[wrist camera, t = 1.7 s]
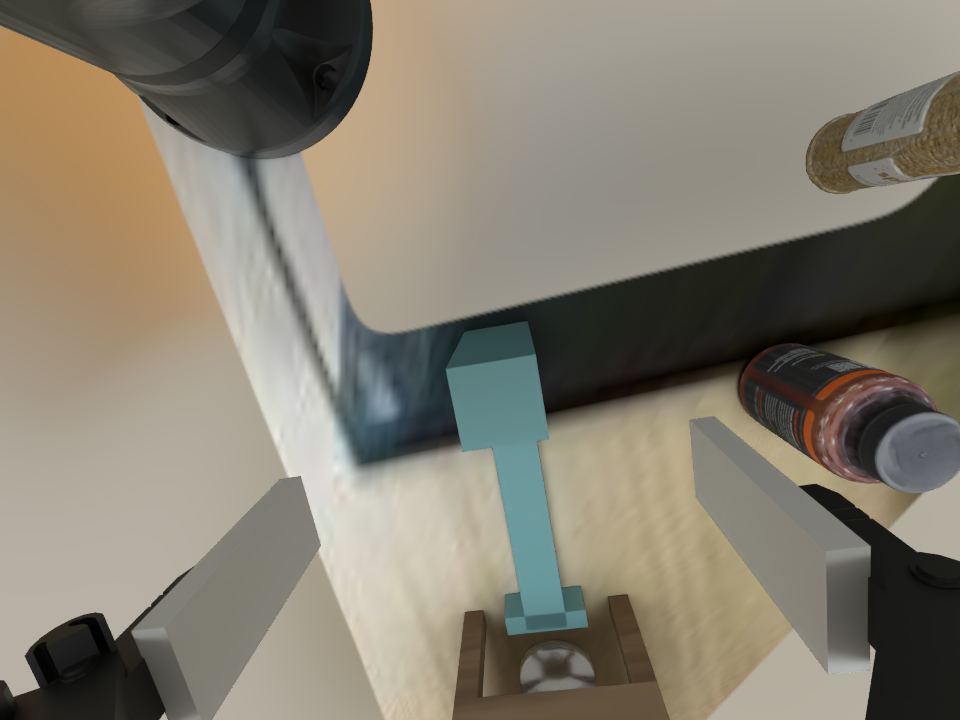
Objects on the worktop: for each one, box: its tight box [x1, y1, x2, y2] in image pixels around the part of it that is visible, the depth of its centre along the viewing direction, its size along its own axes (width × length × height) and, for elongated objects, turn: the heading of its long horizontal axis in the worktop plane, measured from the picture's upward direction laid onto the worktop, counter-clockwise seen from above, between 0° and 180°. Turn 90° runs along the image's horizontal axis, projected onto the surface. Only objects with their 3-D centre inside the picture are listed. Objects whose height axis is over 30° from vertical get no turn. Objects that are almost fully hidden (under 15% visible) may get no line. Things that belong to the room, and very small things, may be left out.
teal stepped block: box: [446, 321, 588, 635], centre depth 30 cm, size 23×6×10 cm, turn 10°
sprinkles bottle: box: [806, 71, 960, 194], centre depth 22 cm, size 5×5×13 cm
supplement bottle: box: [739, 343, 960, 493], centre depth 27 cm, size 6×6×11 cm
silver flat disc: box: [520, 639, 596, 693], centre depth 38 cm, size 6×6×2 cm
